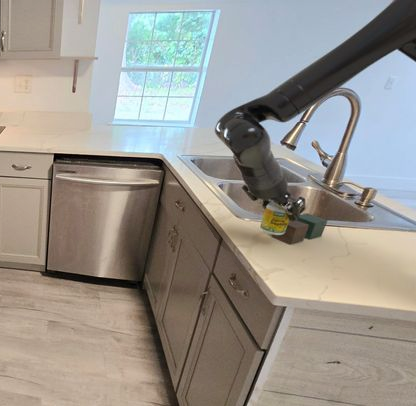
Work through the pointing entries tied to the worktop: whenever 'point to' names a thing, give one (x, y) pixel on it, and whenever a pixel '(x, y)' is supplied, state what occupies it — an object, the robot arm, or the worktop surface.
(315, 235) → the green block
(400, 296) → the worktop surface
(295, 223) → the walnut block
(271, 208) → the supplement bottle
